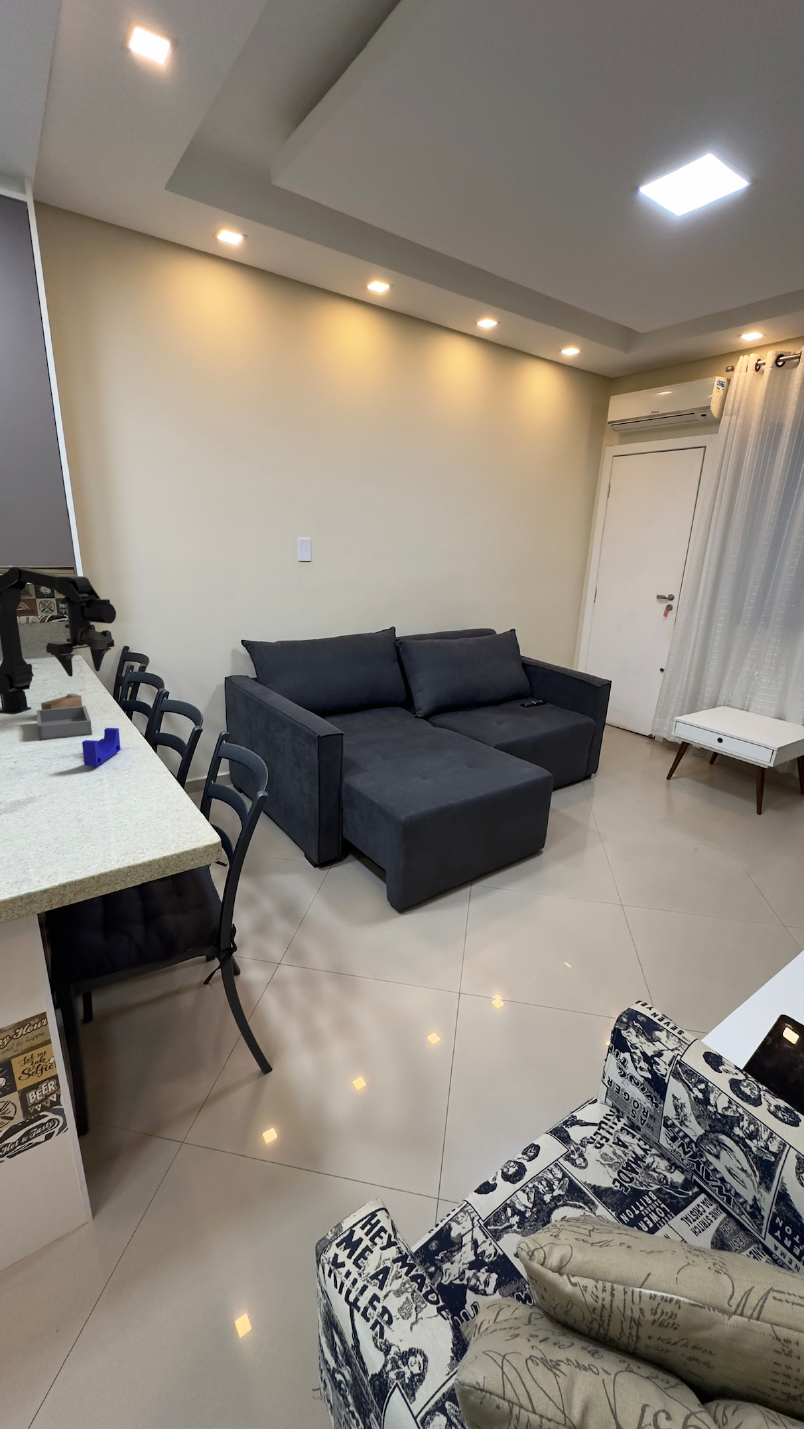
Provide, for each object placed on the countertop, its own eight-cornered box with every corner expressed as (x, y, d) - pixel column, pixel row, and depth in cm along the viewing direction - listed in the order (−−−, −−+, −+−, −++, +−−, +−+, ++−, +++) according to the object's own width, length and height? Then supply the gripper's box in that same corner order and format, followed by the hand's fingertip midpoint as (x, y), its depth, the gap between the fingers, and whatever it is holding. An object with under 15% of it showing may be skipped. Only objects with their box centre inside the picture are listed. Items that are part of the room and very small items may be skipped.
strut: (43, 719, 176) (40, 701, 175) (73, 709, 187) (71, 692, 186) (53, 720, 175) (50, 702, 174) (82, 710, 187) (80, 693, 185)
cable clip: (103, 749, 153) (101, 727, 151) (120, 750, 153) (118, 728, 151) (78, 765, 141) (75, 741, 140) (96, 766, 141) (94, 742, 140)
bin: (38, 723, 171) (36, 710, 170) (86, 718, 178) (85, 706, 177) (39, 740, 157) (37, 726, 156) (92, 734, 163) (90, 721, 162)
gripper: (71, 626, 158) (76, 683, 162) (126, 620, 175) (130, 672, 179) (41, 622, 162) (48, 678, 166) (98, 617, 178) (102, 667, 183)
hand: (84, 673), depth 173 cm, fingers open, 9 cm apart
